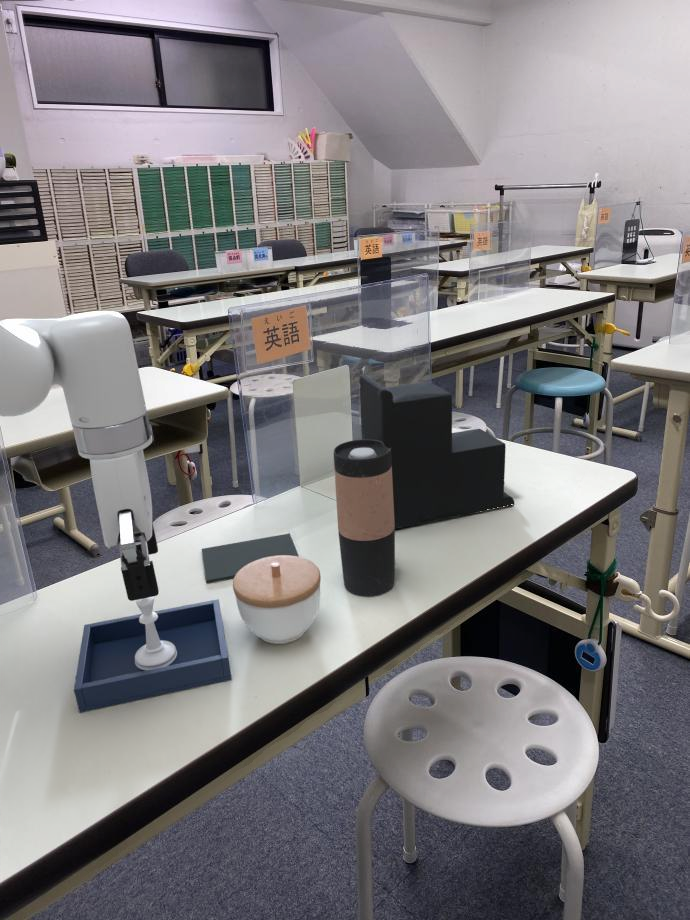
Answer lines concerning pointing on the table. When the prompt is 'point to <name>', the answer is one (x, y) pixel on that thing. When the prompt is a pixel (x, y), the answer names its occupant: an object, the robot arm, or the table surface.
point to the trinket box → (278, 597)
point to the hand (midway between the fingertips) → (144, 574)
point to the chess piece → (152, 641)
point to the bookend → (432, 453)
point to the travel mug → (365, 516)
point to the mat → (243, 555)
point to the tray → (119, 680)
